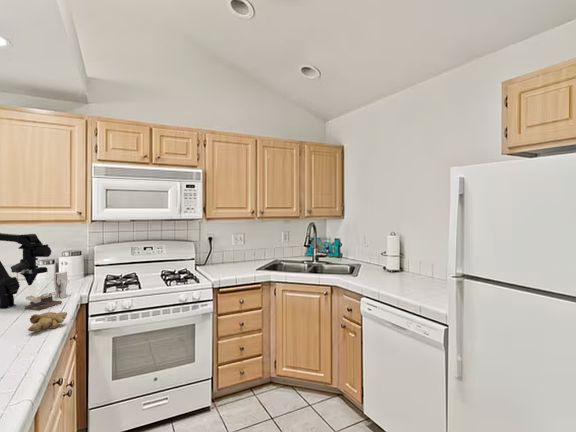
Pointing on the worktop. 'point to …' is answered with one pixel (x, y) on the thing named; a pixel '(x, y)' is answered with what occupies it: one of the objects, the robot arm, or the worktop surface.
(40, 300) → the near rocker
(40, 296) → the middle rocker
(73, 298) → the worktop surface
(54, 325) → the ginger root
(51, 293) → the far rocker
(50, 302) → the switch unit
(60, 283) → the beer glass
